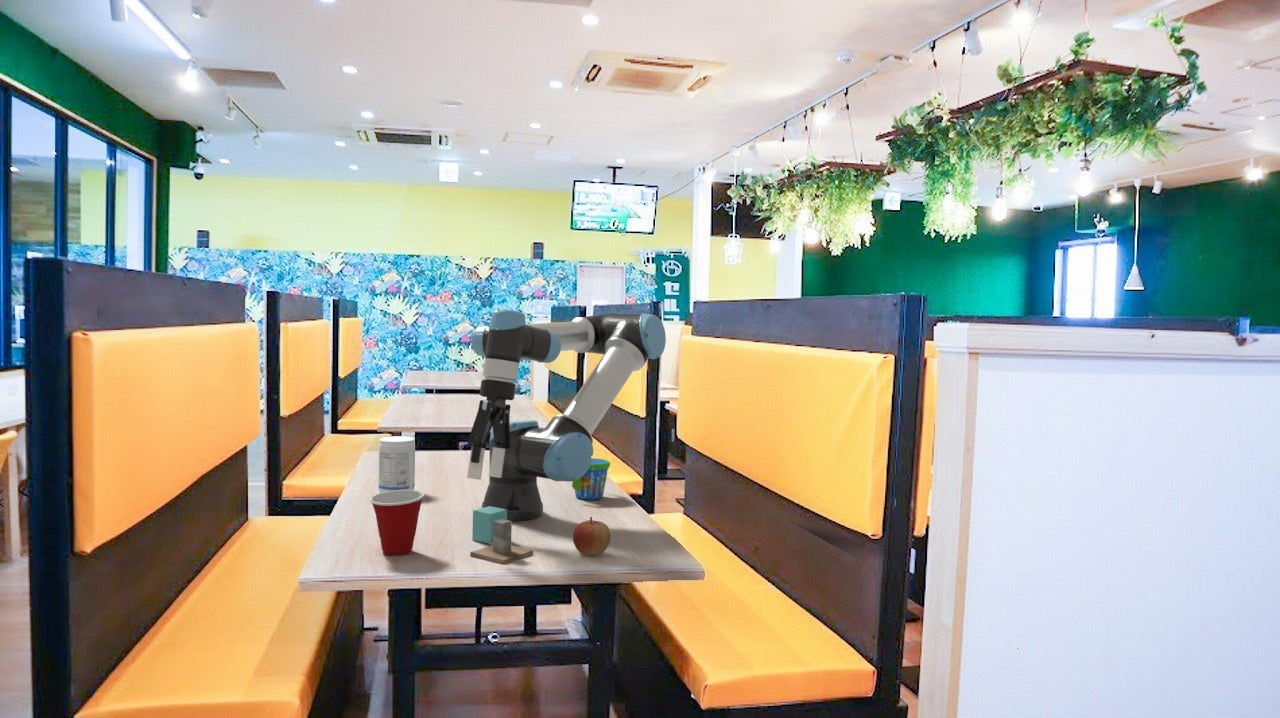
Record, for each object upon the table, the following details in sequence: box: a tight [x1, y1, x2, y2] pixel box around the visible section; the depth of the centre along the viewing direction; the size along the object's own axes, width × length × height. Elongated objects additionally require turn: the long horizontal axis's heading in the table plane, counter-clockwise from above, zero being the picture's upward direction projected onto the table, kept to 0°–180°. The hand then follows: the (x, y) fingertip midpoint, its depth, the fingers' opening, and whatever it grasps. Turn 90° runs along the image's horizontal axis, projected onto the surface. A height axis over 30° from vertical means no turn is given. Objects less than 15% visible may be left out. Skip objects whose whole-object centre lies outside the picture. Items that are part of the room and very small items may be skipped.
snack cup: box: [571, 457, 611, 501], centre depth 229 cm, size 16×10×10 cm
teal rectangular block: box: [471, 506, 507, 545], centre depth 184 cm, size 5×5×7 cm
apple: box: [572, 516, 612, 557], centre depth 175 cm, size 8×8×8 cm
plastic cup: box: [369, 489, 425, 557], centre depth 172 cm, size 11×11×12 cm
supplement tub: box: [378, 435, 416, 493], centre depth 229 cm, size 10×10×15 cm
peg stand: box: [469, 519, 534, 565], centre depth 172 cm, size 9×9×7 cm
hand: (484, 478), depth 181 cm, fingers open, 13 cm apart
